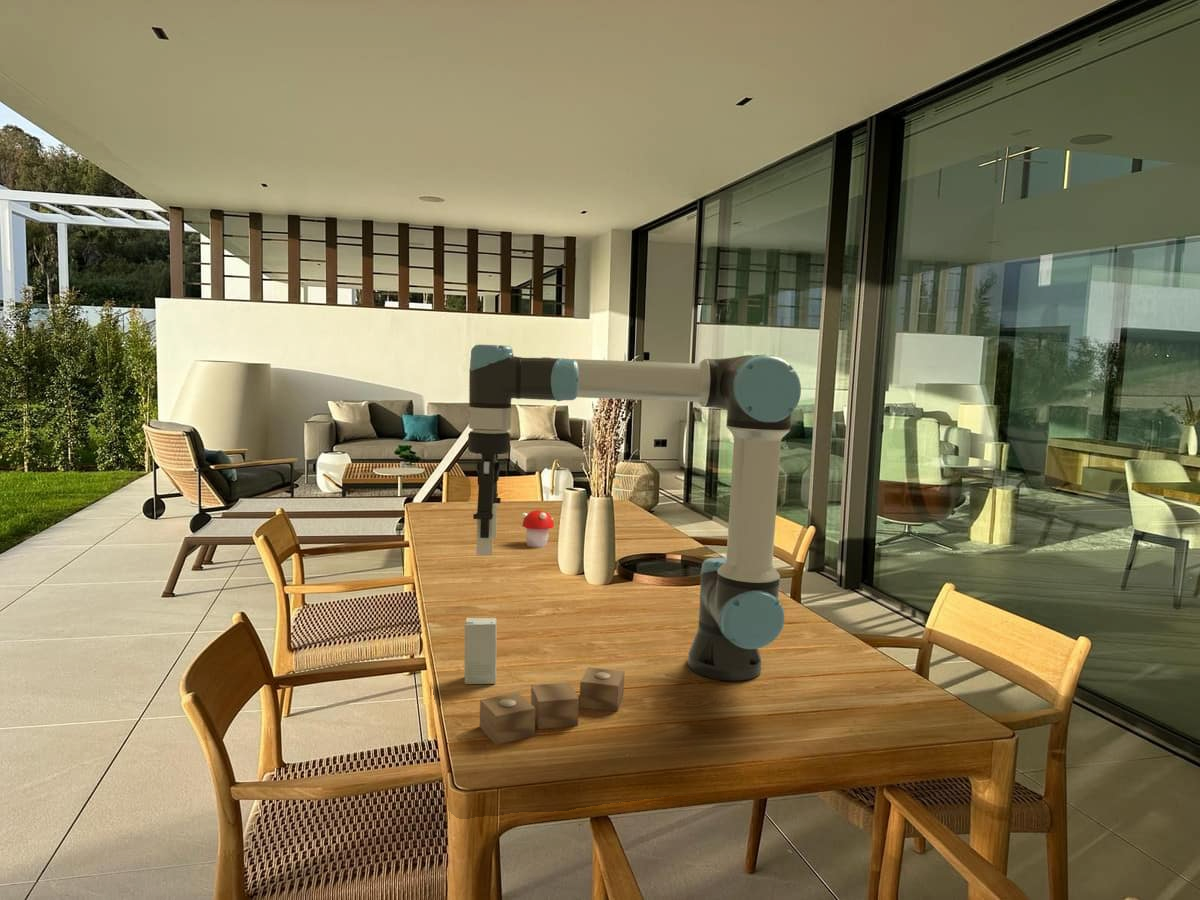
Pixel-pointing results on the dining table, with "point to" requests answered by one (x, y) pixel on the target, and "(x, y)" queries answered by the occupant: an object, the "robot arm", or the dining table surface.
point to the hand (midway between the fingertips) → (486, 546)
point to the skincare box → (480, 651)
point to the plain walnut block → (555, 705)
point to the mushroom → (537, 527)
